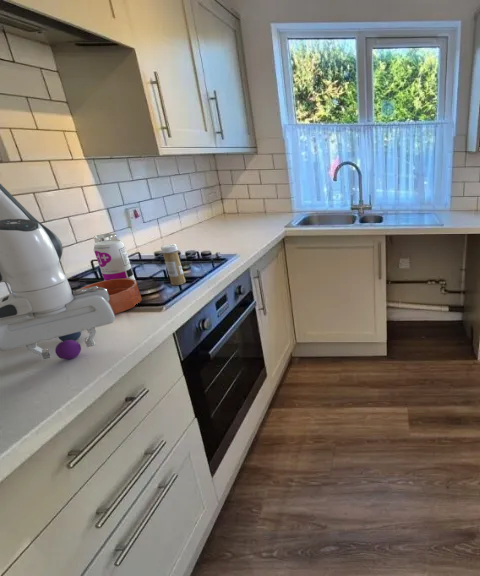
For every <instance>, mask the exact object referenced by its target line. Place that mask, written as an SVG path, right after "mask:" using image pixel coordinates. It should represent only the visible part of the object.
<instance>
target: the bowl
mask: <svg viewBox="0 0 480 576" xmlns="http://www.w3.org/2000/svg"><path fill="white" fill-rule="evenodd" d="M93 286H97V287H102V288H105V289H106V290H107V291H108V294H109V296H110V300H109V302H108V303H109V304H110V306H111V308H112V310H113V313H114V315H116V314H119V313H122V312H125V311H128V310H130V309H132V308H135V307H136V306H137V305H139V304H140V303H141V302H142V300H143V298H142V294H141V290H140V288H139V284H138V281H137V280H136V279H135V280H134V279H128V278H124V279H112V280H106V281H105V280H102V281H97V282H94V283H91V284H88V285H85V286H83V287H81V288H80V289H85V288H90V287H93ZM98 290H101V289H98ZM138 303H139V304H138ZM136 304H137V305H136ZM135 305H136V306H135Z"/></svg>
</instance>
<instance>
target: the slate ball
mask: <svg viewBox="0 0 480 576" xmlns="http://www.w3.org/2000/svg"><path fill="white" fill-rule="evenodd" d="M81 336H82V331H80V332H76V333H72V334H68V335H65V336H61V337H57V339H59V340H60V341H61V342H62V341H65V340H74V341H76V342H77V340H79V338H80V337H81Z"/></svg>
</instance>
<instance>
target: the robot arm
mask: <svg viewBox="0 0 480 576" xmlns="http://www.w3.org/2000/svg"><path fill="white" fill-rule="evenodd" d="M63 249H64V248H63V243H62V241H61V240H60V237H58V236H57V234H56V233H54V232H53V231H52V230H51V229H49V228H48V227H47V226H45V225H44V224H42V223H41V222H40V221H39V220H38V219H37V218H35V217H34V216H33V215H32V213H30V211H29V210H27V208H26V207H24V206H23V205H22V204H21V203H20V201H18V199H17V198H16V197H14V195H12V193H11V192H10V191H8V189H6V187H5V186H3V184H1V183H0V283H5V284H8V285H9V286H10V287H9V288H10V291H11V293H9V294H7V295H4V296H2V297H0V351H1V352H7V351H10V350H14V349H18V348H22V347H25V346H26V349H27V350H28V351H30V352H32V353H33V354H36V355H38V356H39V359H40V361H44V360H47V359H51V353H50V350H49V348H44V349H43V348H41V347H40V346H38V343H41V342H45V341H49V340H53V339H56V338H57V339H58V337H61V336H65V335H68V334H72V333H76V332H80V331H81V332H84V331H87V334H89V336H88V337H85V338H84V343H85V345H86V348H91V347H94V346H96V341H95V339H94V338H95V336H96V333H97V332H96V331H97V329H96V328H100V327H103V326H106V325H111V324H113V323H114V321H115V319H116V316H115V315H116V314H114V313H113V310H112V308H111V306H110V304H109V303H108V302H109V300H110V296H109V294H108V291H107V290H106V289H105V288H102V287H97V286H93V287H90V288H85V289H81V288H79V289H74V290H73V289H72V288H71V285H70V282H69V280H68V278H67V276H66V274H65V273H64V272H63V270H62V269H61V267H60V261H61V259H62V256H63ZM98 289H101V290H98Z"/></svg>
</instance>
